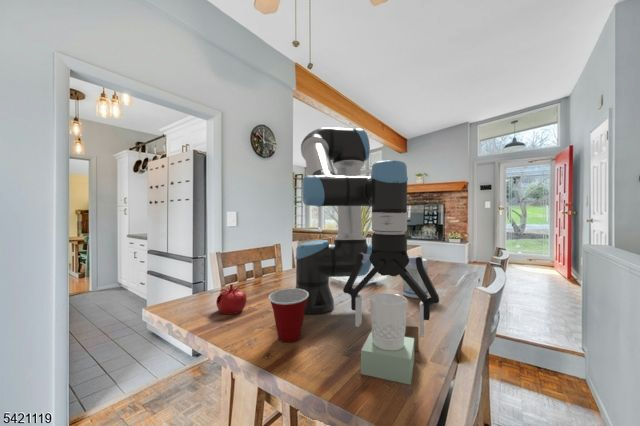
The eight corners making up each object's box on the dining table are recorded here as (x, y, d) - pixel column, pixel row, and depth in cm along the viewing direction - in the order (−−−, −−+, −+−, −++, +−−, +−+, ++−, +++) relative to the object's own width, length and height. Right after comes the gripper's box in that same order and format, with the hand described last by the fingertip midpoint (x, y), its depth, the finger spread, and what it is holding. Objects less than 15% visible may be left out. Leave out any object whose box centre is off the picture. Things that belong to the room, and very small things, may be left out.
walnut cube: (393, 349, 70) (393, 325, 70) (390, 338, 76) (390, 316, 76) (418, 351, 69) (418, 326, 69) (413, 340, 75) (413, 317, 75)
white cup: (362, 340, 64) (363, 296, 64) (389, 333, 68) (389, 291, 67) (386, 356, 57) (386, 306, 57) (414, 347, 61) (415, 300, 60)
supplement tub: (419, 291, 120) (419, 256, 120) (432, 297, 111) (433, 260, 110) (398, 292, 118) (398, 257, 118) (410, 299, 109) (410, 261, 108)
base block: (361, 373, 59) (361, 350, 59) (371, 351, 69) (370, 331, 69) (410, 384, 56) (410, 359, 56) (414, 359, 65) (414, 338, 65)
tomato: (251, 307, 101) (251, 281, 101) (238, 317, 91) (239, 288, 91) (224, 305, 102) (225, 279, 102) (210, 315, 93) (210, 286, 93)
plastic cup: (259, 342, 74) (259, 296, 74) (284, 326, 83) (283, 286, 83) (294, 351, 69) (294, 302, 69) (316, 334, 78) (316, 291, 78)
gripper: (329, 232, 63) (329, 326, 63) (452, 236, 54) (452, 347, 54) (340, 230, 70) (340, 315, 70) (450, 233, 61) (450, 331, 61)
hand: (388, 329), depth 62 cm, fingers open, 13 cm apart
